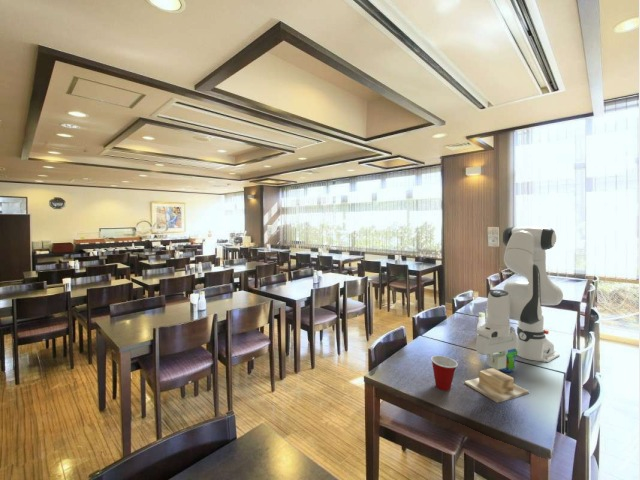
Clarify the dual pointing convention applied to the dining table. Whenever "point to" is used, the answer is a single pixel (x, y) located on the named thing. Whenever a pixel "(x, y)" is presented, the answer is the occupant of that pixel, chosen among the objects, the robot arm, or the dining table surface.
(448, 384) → the plastic cup
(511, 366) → the snack cup
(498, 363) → the sage cube
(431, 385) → the dining table surface
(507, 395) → the foundation base
